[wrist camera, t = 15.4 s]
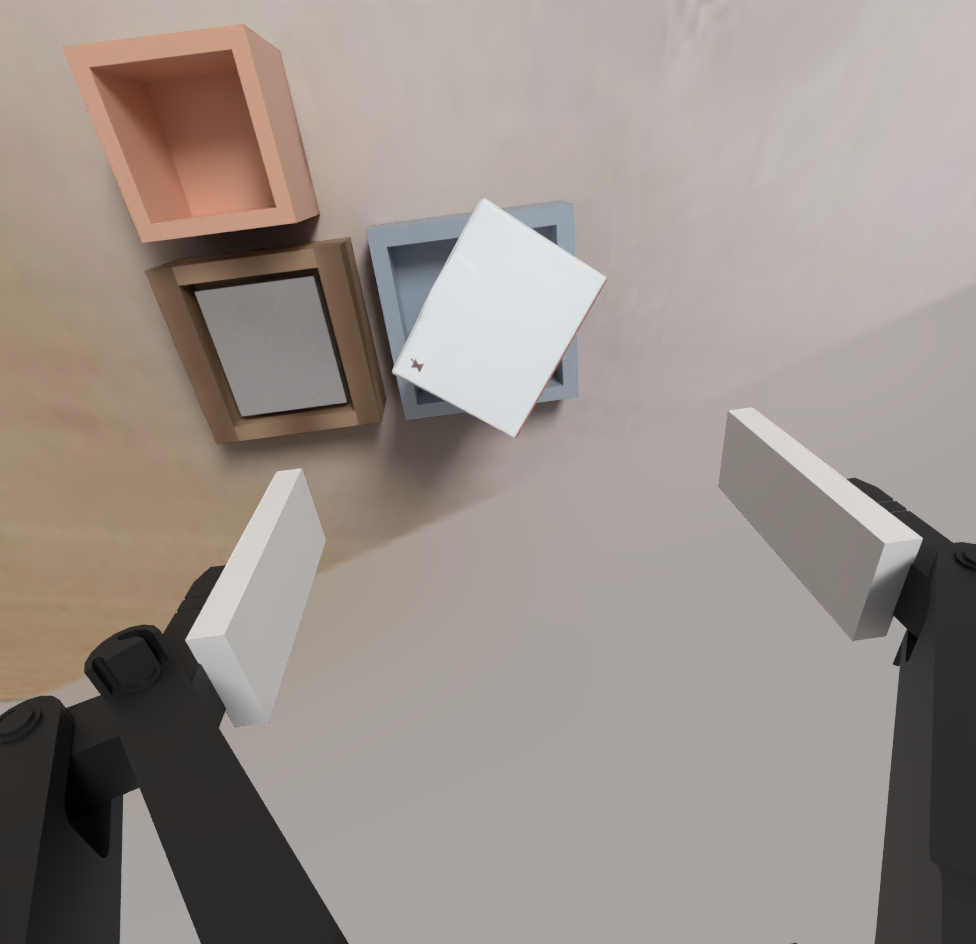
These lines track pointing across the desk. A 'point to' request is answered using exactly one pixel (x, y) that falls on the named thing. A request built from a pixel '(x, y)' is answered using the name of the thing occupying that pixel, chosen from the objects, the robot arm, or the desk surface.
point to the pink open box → (197, 130)
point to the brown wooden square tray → (322, 257)
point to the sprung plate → (275, 343)
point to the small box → (498, 319)
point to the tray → (416, 266)
